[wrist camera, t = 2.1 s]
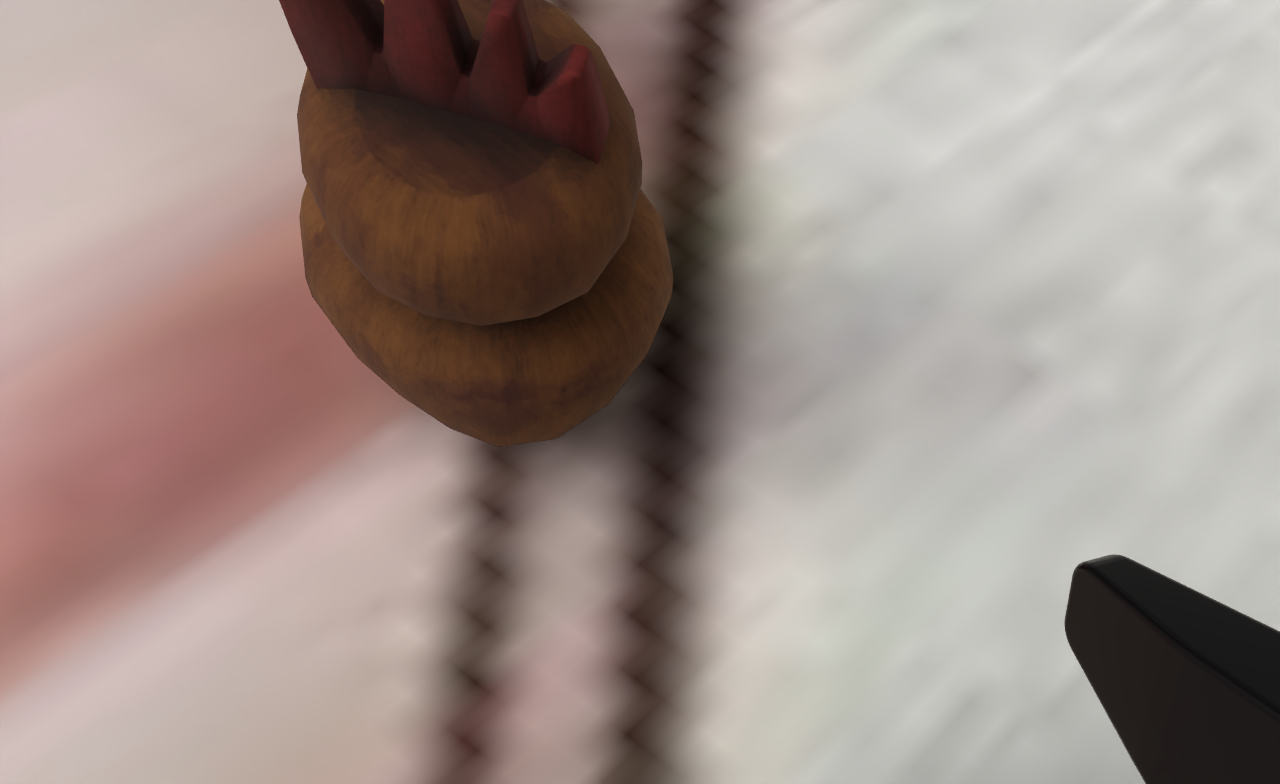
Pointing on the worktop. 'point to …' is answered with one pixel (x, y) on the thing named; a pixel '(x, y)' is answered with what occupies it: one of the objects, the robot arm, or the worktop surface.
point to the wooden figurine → (477, 209)
